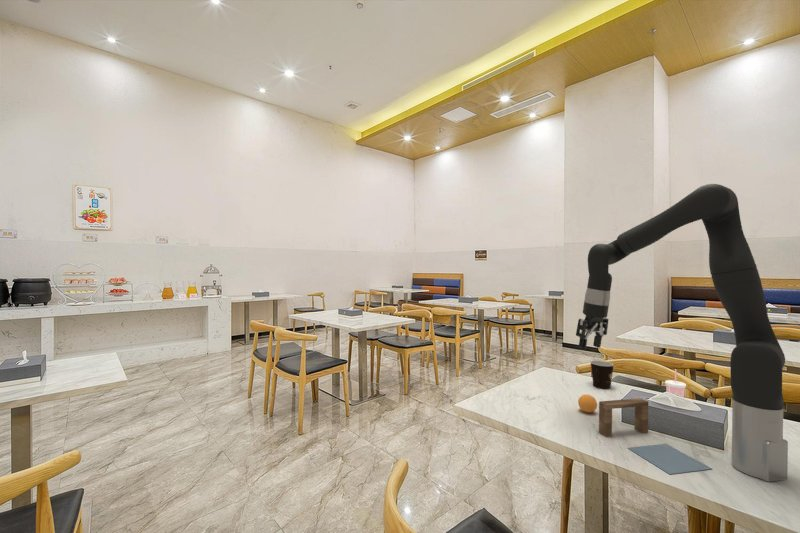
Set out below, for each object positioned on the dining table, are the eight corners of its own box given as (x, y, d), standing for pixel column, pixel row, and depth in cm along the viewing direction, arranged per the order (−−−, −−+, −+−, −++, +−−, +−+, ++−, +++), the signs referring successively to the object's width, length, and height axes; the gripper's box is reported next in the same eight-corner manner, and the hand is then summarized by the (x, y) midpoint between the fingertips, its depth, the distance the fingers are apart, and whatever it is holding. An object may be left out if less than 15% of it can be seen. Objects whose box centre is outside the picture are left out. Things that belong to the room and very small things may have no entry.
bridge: (648, 432, 112) (648, 401, 112) (606, 437, 109) (606, 405, 109) (639, 428, 115) (640, 398, 115) (598, 432, 112) (599, 401, 112)
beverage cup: (690, 409, 130) (690, 371, 130) (675, 411, 129) (676, 372, 129) (674, 403, 136) (675, 366, 136) (660, 404, 135) (661, 367, 135)
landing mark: (712, 469, 92) (712, 468, 92) (669, 474, 90) (669, 473, 90) (665, 444, 105) (665, 443, 105) (627, 448, 103) (627, 447, 103)
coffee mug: (601, 382, 160) (601, 360, 160) (618, 388, 152) (618, 365, 152) (580, 385, 156) (580, 362, 156) (596, 391, 148) (597, 367, 148)
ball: (601, 414, 126) (601, 397, 126) (585, 416, 124) (586, 398, 124) (589, 407, 131) (589, 391, 131) (574, 409, 130) (574, 392, 130)
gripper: (594, 305, 117) (587, 353, 118) (619, 304, 124) (611, 349, 126) (573, 300, 123) (567, 346, 125) (598, 299, 130) (591, 342, 132)
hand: (589, 347), depth 125 cm, fingers open, 8 cm apart
